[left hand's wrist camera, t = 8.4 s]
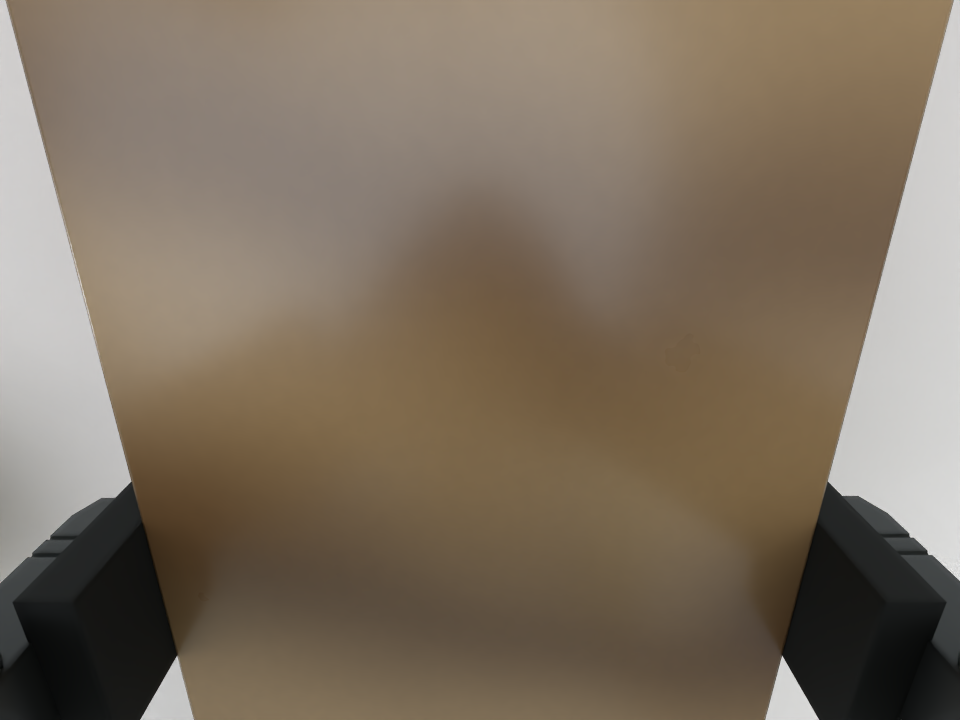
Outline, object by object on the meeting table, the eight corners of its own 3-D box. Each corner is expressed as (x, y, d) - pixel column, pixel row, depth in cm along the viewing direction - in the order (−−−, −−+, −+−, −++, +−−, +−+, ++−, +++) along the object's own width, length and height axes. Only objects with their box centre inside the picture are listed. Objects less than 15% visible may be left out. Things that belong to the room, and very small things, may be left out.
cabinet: (227, -359, 12) (-431, -1640, 3) (731, -358, 12) (1390, -1640, 3) (323, 465, 19) (196, 737, 10) (635, 465, 19) (762, 737, 10)
